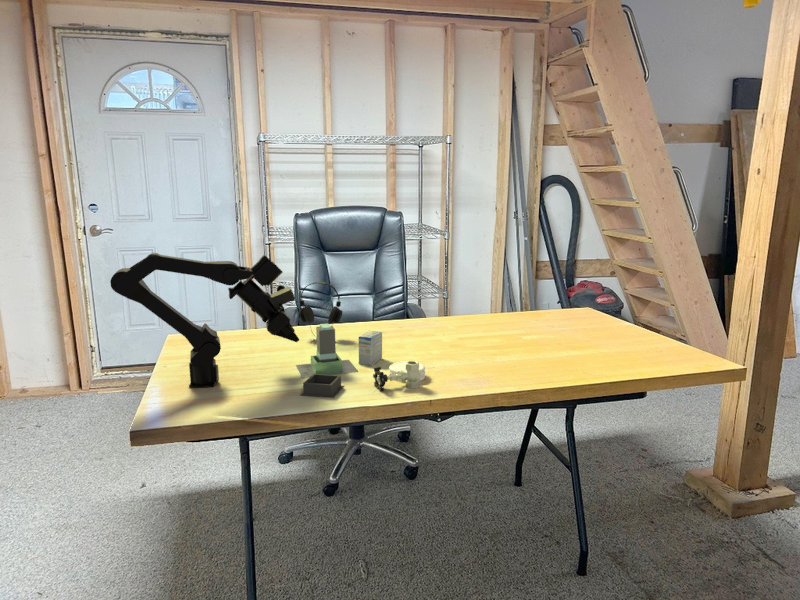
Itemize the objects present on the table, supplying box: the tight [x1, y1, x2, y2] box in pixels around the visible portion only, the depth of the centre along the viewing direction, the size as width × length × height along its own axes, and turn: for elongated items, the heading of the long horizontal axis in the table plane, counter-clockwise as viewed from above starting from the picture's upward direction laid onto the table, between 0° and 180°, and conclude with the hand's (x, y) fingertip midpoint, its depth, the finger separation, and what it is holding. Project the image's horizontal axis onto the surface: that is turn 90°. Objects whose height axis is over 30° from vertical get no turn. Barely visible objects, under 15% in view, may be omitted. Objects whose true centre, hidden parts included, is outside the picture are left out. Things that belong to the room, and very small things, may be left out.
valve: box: [372, 360, 420, 392], centre depth 148 cm, size 7×7×12 cm
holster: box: [299, 374, 345, 399], centre depth 145 cm, size 9×9×4 cm
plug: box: [315, 323, 337, 363], centre depth 161 cm, size 5×5×13 cm
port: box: [295, 352, 359, 379], centre depth 162 cm, size 16×12×4 cm
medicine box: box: [358, 330, 383, 367], centre depth 170 cm, size 8×4×9 cm, turn 159°
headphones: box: [298, 281, 343, 346], centre depth 193 cm, size 15×11×20 cm
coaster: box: [388, 360, 426, 383], centre depth 156 cm, size 10×10×4 cm
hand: (295, 336), depth 158 cm, fingers open, 9 cm apart
